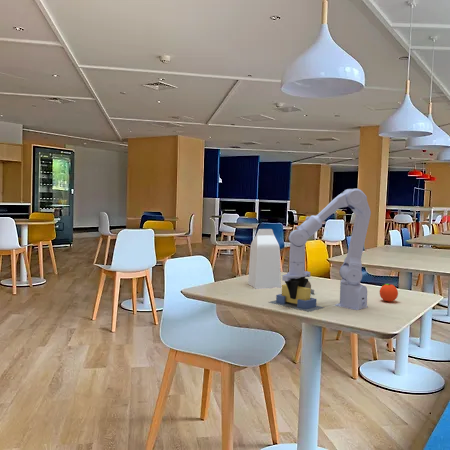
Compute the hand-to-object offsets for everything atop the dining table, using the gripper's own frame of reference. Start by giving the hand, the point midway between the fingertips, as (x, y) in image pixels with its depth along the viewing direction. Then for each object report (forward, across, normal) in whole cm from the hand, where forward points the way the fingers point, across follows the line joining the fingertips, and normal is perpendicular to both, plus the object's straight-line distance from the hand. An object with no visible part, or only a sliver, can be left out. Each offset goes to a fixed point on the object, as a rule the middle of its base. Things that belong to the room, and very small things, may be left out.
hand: (296, 297), depth 172 cm
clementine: (+3, -34, +19) cm, 40 cm away
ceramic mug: (+3, -19, -11) cm, 22 cm away
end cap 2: (+3, 0, +5) cm, 6 cm away
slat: (+2, 0, 0) cm, 2 cm away
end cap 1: (+3, 0, -5) cm, 6 cm away
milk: (+3, -20, -33) cm, 38 cm away
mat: (+3, 0, 0) cm, 3 cm away
